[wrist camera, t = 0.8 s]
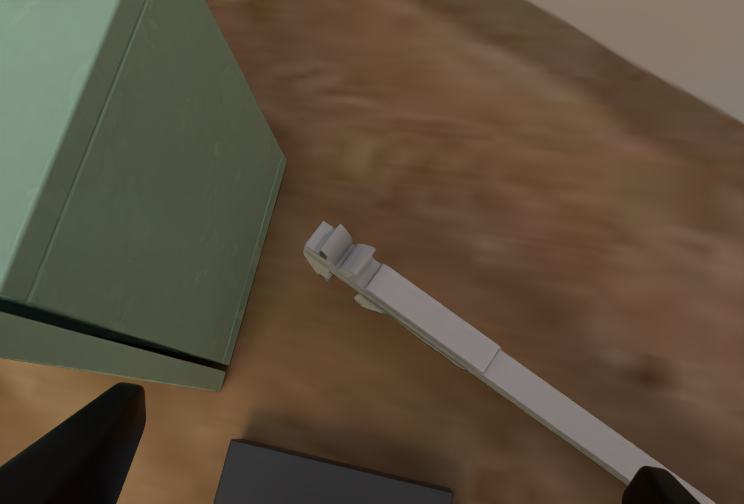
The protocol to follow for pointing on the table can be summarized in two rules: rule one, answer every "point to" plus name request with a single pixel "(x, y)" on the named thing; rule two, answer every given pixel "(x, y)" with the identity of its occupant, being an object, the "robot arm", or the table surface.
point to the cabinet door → (98, 355)
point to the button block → (312, 480)
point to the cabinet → (130, 173)
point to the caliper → (473, 352)
